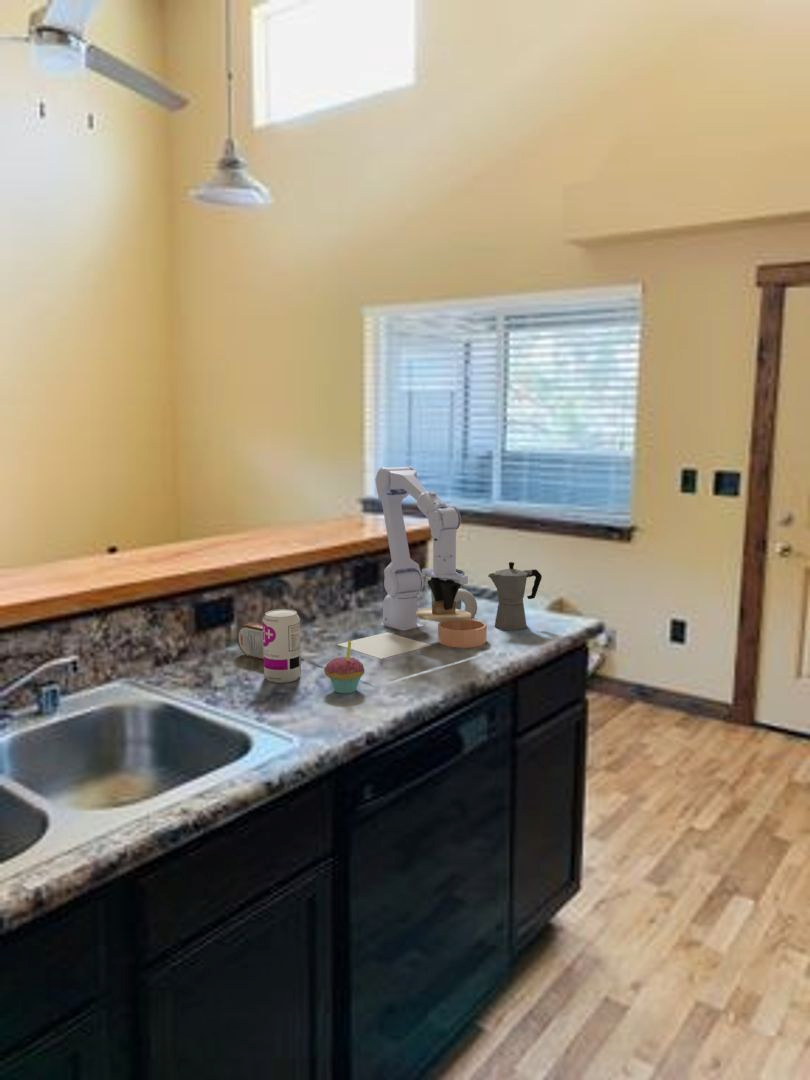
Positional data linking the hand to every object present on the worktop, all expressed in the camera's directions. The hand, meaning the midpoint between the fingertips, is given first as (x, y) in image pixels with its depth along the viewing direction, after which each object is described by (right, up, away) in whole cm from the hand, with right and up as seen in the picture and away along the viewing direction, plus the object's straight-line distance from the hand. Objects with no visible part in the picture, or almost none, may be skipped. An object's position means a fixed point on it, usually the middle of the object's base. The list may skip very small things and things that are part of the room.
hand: (444, 608), depth 218 cm
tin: (-45, -12, -10) cm, 47 cm away
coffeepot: (+20, -7, +19) cm, 29 cm away
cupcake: (-23, -15, -34) cm, 43 cm away
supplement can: (-38, -14, -25) cm, 47 cm away
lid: (0, -2, 0) cm, 2 cm away
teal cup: (+2, -4, +37) cm, 37 cm away
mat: (-15, -10, -1) cm, 18 cm away
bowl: (+5, -9, +2) cm, 11 cm away
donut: (+5, -6, +22) cm, 23 cm away
